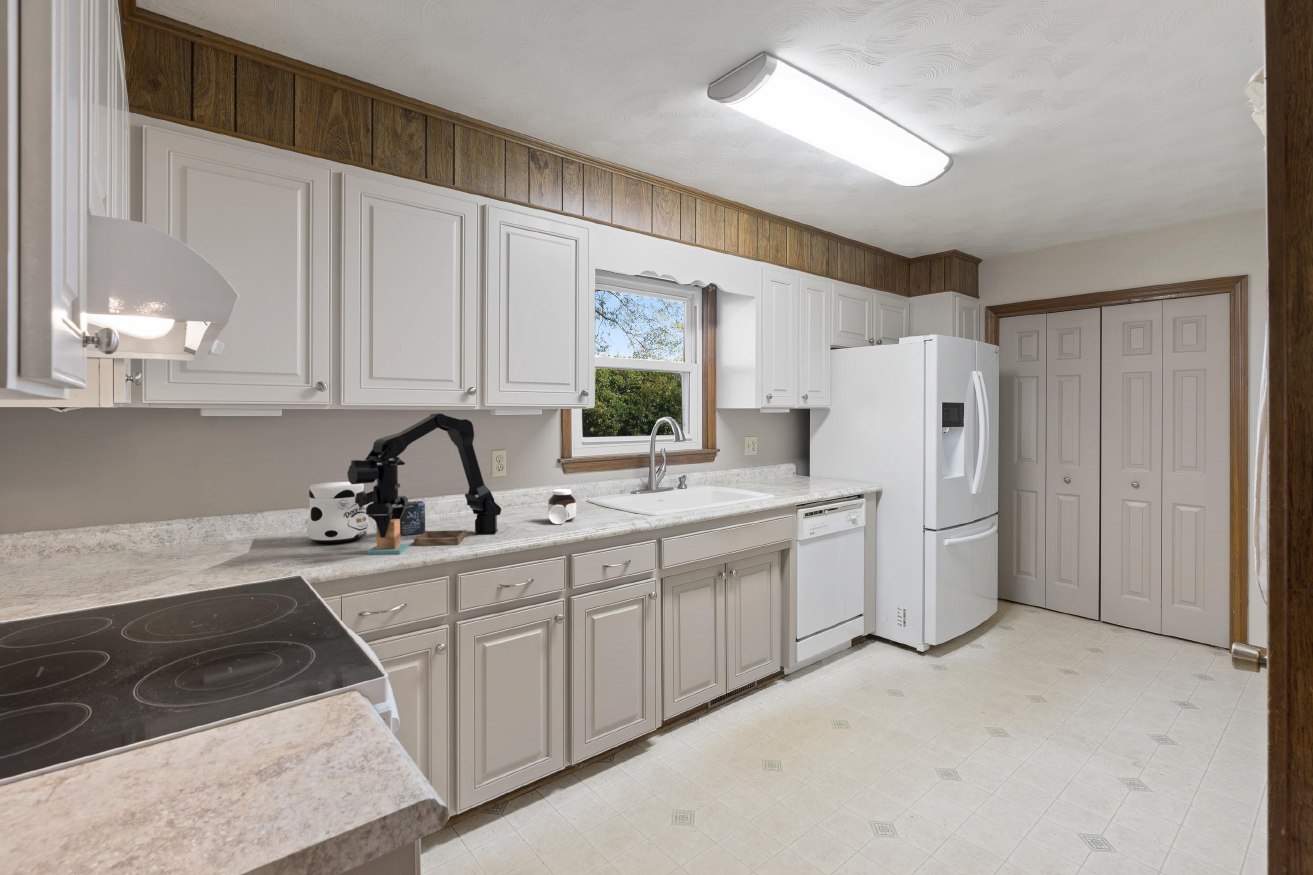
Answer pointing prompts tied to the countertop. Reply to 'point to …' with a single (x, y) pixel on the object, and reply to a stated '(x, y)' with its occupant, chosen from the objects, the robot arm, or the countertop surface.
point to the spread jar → (561, 506)
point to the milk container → (335, 513)
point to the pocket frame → (427, 540)
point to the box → (413, 519)
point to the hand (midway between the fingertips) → (388, 534)
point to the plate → (388, 550)
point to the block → (389, 536)
